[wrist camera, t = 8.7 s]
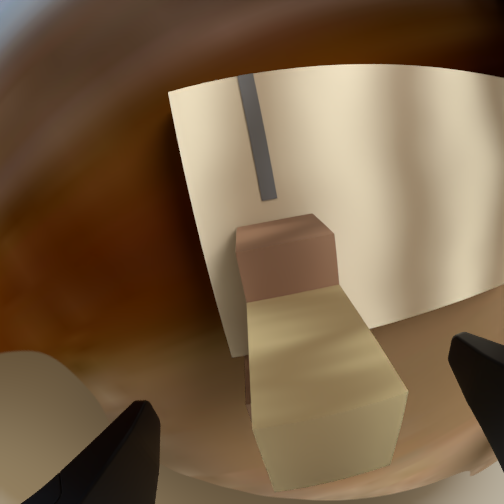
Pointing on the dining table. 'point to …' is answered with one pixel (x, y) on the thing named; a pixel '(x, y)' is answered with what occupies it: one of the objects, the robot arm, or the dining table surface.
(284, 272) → the stacked cube assembly
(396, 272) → the board
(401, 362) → the dining table surface
